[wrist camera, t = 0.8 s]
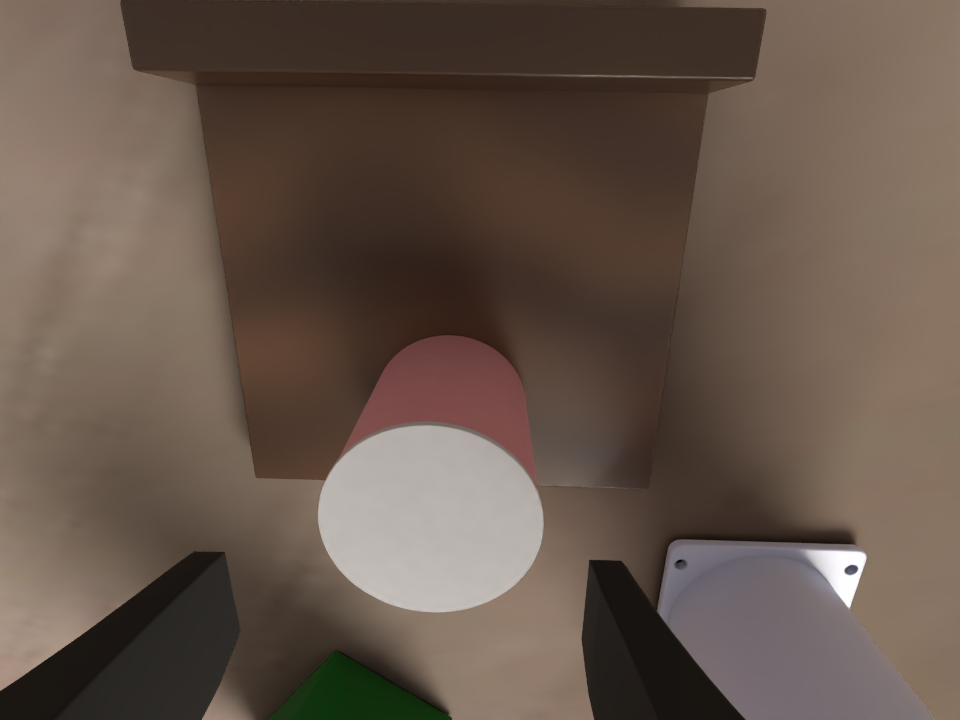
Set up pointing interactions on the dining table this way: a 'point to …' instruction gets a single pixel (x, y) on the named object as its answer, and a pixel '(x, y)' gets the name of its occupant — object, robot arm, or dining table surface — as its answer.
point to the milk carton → (352, 696)
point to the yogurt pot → (436, 481)
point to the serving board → (451, 202)
